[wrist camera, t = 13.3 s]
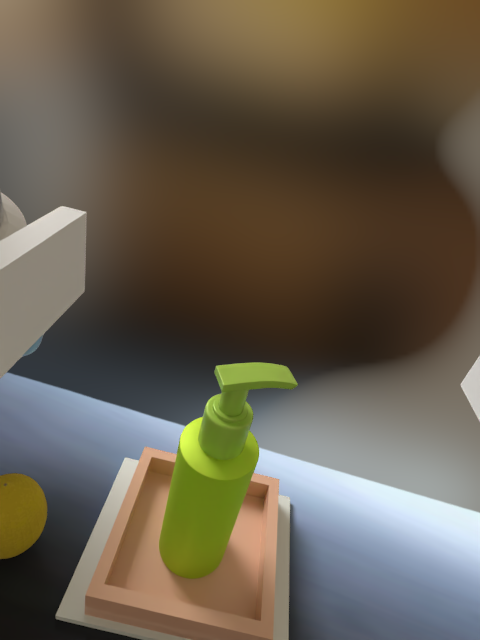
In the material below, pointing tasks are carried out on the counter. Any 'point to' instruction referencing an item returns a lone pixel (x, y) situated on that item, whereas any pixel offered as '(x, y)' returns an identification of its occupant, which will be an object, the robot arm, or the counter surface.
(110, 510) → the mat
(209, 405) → the soap dispenser
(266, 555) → the dish
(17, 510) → the lemon
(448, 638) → the counter surface
